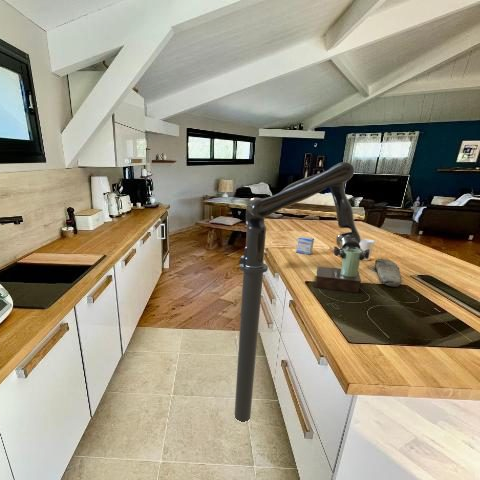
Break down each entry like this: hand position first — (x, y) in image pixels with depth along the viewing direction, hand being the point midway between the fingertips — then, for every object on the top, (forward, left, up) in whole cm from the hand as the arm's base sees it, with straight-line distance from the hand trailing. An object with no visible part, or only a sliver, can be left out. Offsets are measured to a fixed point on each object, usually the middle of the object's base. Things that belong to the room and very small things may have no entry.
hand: (352, 256), depth 124 cm
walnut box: (-4, +2, -13) cm, 14 cm away
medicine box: (-20, +50, -13) cm, 56 cm away
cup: (0, +2, -8) cm, 8 cm away
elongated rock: (+18, +24, -13) cm, 33 cm away
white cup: (+10, +49, -13) cm, 52 cm away
